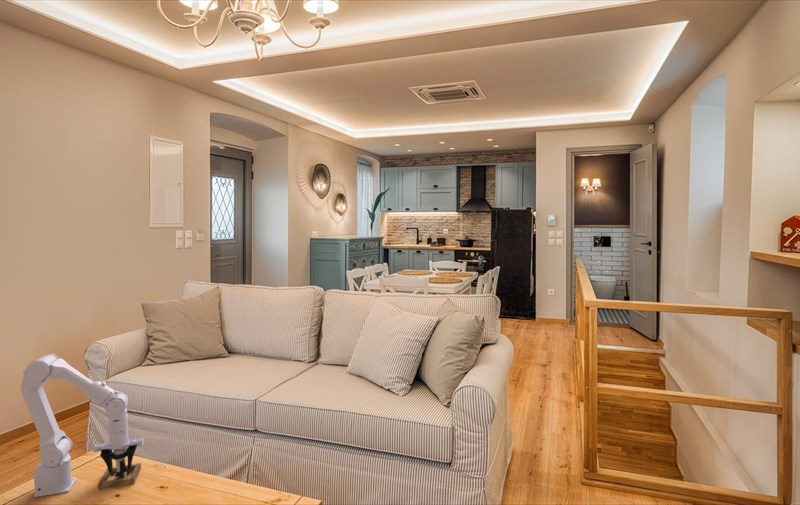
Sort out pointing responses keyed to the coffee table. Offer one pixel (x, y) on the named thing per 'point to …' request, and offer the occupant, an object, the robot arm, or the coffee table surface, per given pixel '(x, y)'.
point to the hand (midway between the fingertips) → (120, 468)
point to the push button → (120, 463)
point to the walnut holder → (119, 482)
